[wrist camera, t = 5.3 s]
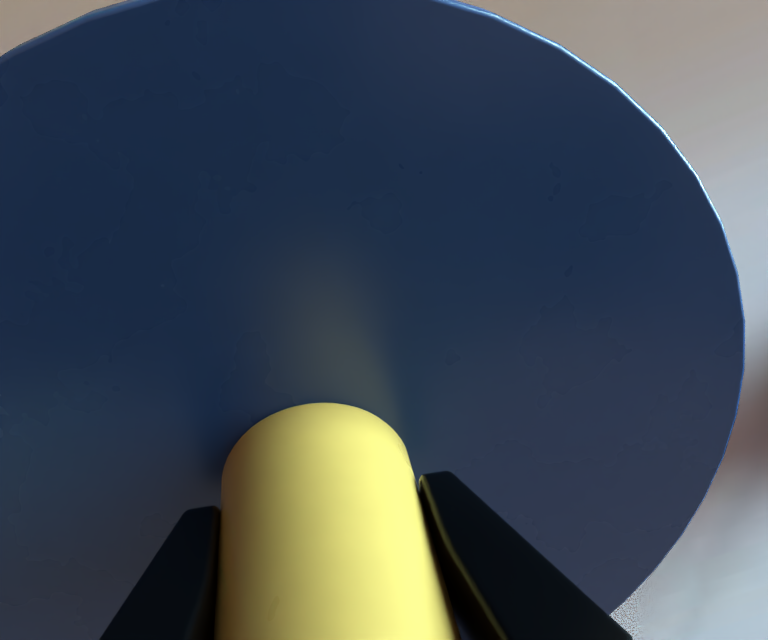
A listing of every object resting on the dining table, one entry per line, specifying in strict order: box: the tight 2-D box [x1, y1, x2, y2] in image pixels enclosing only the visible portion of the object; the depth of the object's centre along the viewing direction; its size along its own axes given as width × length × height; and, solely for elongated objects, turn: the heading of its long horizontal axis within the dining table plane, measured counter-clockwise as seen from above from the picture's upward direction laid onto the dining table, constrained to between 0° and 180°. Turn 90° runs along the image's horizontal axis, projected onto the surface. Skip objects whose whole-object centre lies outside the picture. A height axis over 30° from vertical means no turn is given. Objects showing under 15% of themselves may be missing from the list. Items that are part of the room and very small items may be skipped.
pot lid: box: [0, 0, 745, 640], centre depth 9 cm, size 13×13×6 cm
